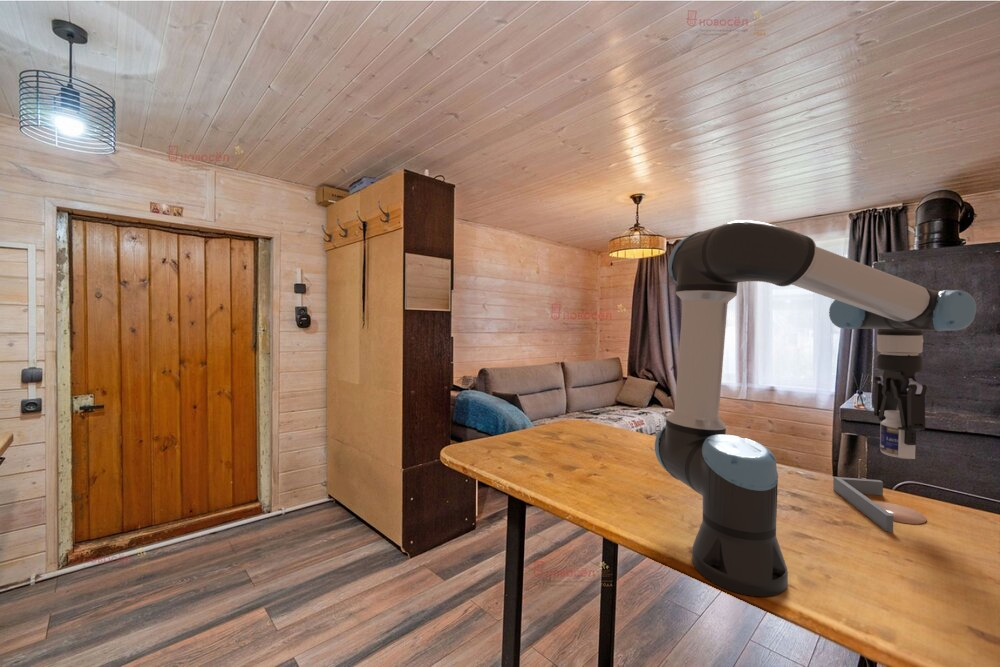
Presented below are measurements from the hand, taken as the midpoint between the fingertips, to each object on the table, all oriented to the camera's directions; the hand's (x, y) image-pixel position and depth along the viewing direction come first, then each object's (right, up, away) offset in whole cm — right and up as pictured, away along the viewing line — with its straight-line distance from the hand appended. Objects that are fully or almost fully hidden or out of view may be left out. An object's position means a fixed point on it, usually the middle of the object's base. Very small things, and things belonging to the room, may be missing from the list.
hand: (896, 453), depth 95 cm
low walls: (-2, -14, +2) cm, 14 cm away
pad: (0, -14, +1) cm, 14 cm away
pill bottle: (0, -1, 0) cm, 1 cm away
